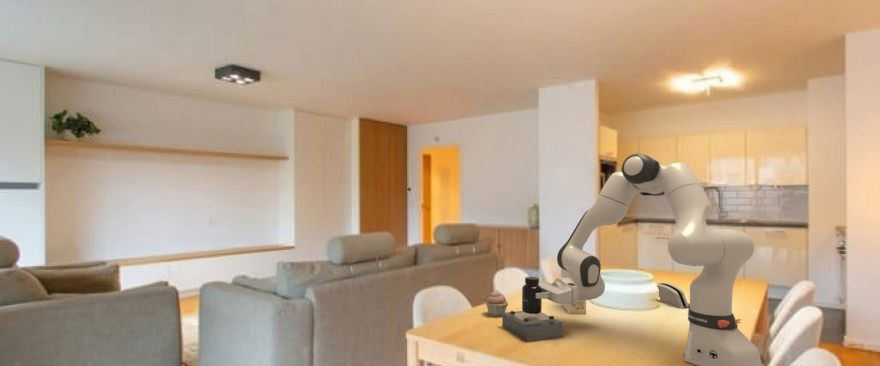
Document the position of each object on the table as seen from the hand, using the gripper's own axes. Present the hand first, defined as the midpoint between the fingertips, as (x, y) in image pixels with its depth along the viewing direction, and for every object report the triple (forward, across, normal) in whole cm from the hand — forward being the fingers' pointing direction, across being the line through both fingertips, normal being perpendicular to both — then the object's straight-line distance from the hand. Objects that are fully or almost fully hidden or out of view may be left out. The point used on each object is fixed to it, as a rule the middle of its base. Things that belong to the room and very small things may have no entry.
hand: (529, 293), depth 168 cm
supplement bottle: (-1, 0, +7) cm, 7 cm away
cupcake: (+1, -24, +14) cm, 28 cm away
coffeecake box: (-33, -21, +14) cm, 41 cm away
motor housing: (-1, -1, +14) cm, 14 cm away
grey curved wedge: (-79, -15, +15) cm, 81 cm away
